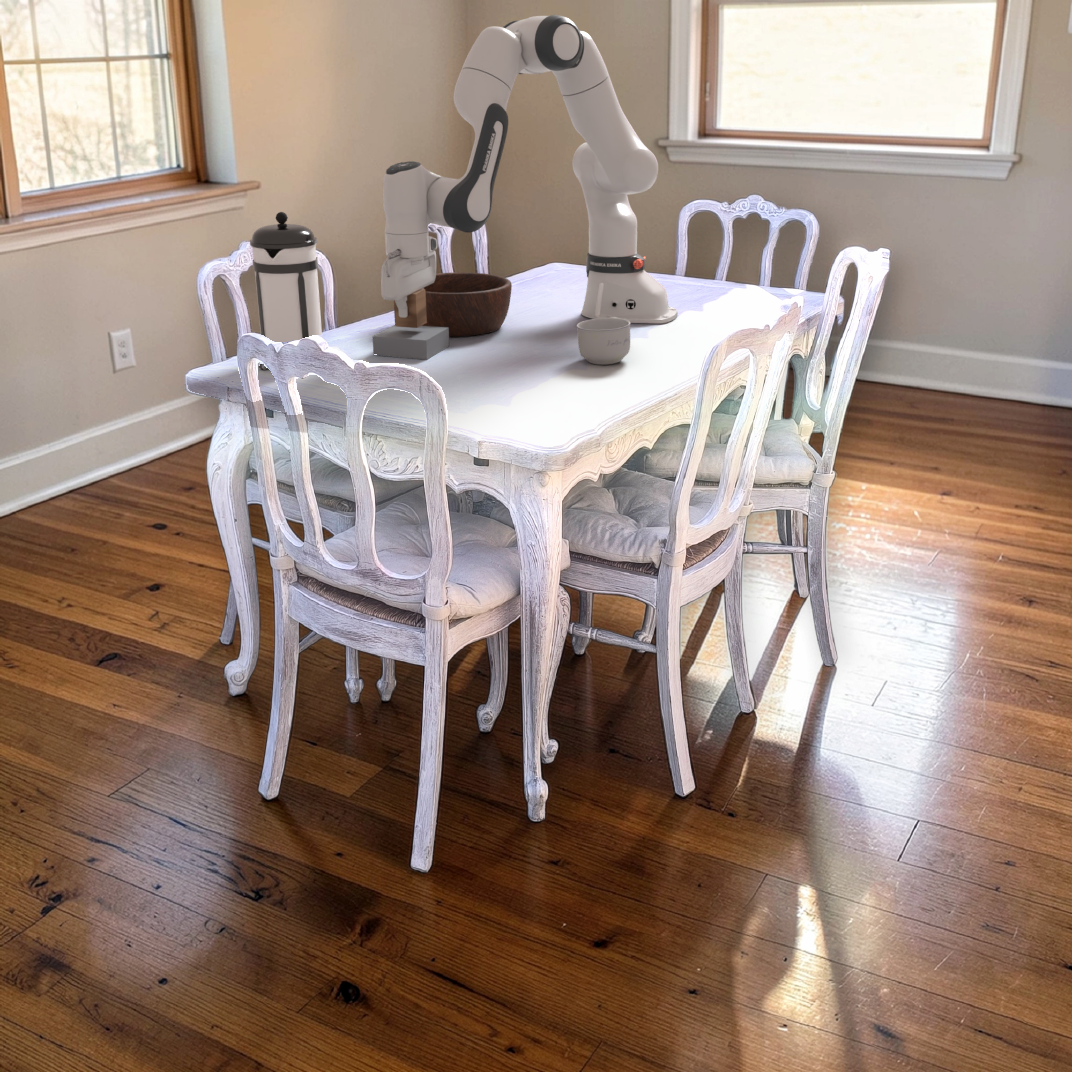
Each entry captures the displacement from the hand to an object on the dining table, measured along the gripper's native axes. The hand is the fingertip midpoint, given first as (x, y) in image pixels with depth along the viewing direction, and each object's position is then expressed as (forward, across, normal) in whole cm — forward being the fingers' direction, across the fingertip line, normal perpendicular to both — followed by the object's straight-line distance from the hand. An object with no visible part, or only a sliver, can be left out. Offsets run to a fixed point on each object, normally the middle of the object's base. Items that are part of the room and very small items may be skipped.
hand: (410, 313), depth 252 cm
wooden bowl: (+8, +23, -1) cm, 24 cm away
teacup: (+8, +5, -41) cm, 42 cm away
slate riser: (+8, 0, 0) cm, 8 cm away
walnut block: (+2, 0, 0) cm, 2 cm away
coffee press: (+8, -16, +19) cm, 26 cm away
